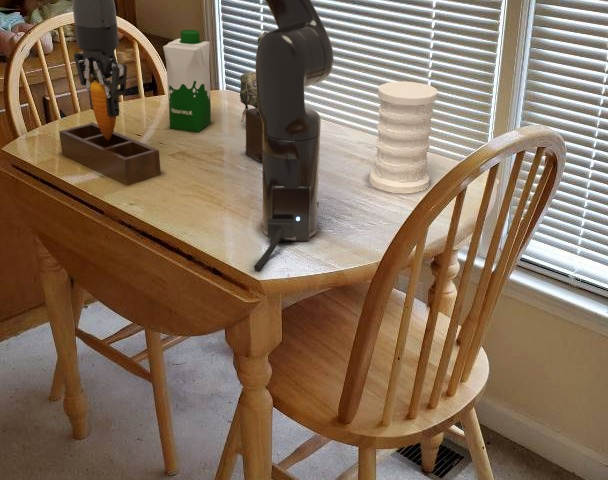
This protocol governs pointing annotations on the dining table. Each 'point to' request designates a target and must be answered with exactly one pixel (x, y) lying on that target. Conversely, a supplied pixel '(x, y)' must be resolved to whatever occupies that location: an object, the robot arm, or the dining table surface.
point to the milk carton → (188, 82)
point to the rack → (110, 154)
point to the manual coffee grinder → (254, 134)
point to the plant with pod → (249, 87)
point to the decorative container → (403, 137)
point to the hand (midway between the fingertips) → (105, 112)
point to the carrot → (101, 109)
